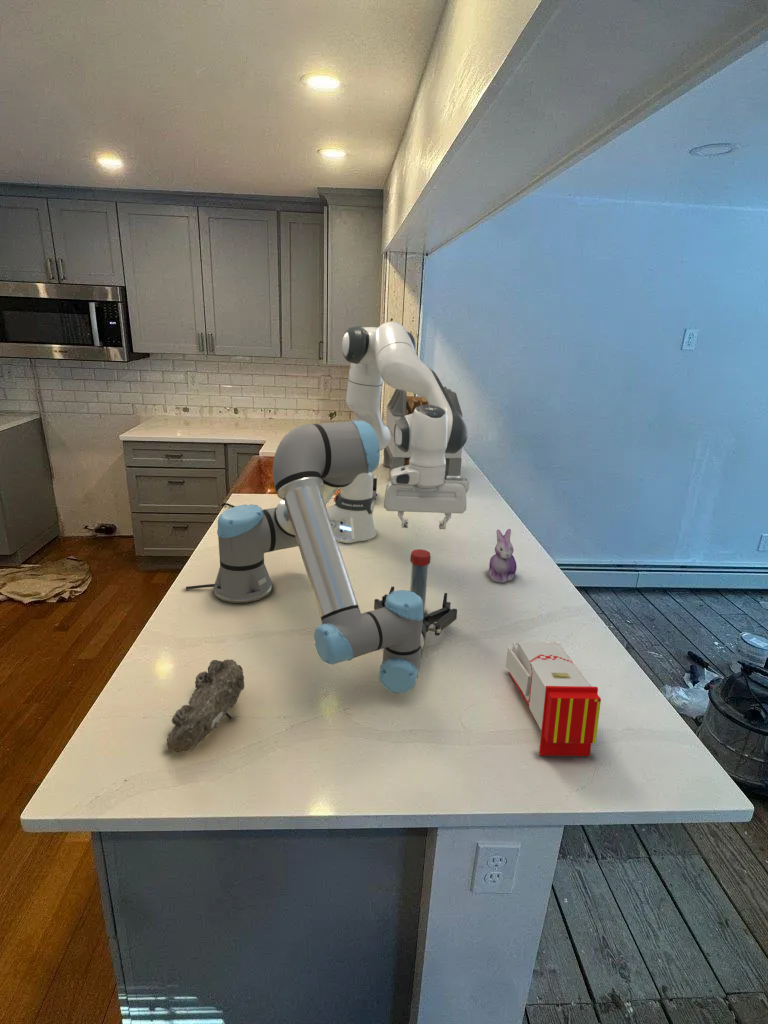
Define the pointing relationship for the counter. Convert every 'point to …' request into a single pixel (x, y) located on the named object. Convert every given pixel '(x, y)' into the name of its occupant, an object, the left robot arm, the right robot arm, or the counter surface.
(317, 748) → the counter surface
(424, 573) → the bottle
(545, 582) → the counter surface
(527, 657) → the toy
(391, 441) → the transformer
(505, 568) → the figurine
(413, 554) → the lid
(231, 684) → the fossil
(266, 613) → the counter surface
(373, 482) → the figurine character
